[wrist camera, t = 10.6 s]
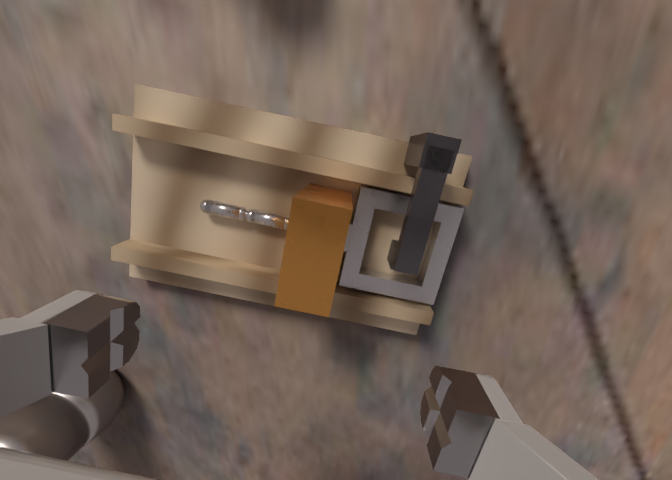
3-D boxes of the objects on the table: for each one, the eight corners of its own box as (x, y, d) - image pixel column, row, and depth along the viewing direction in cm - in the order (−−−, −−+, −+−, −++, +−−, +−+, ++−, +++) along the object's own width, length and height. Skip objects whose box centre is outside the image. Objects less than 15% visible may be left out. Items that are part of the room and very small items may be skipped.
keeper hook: (436, 142, 21) (461, 139, 17) (404, 254, 23) (419, 280, 19) (410, 136, 21) (427, 132, 16) (381, 249, 23) (389, 274, 19)
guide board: (464, 156, 23) (484, 156, 19) (412, 325, 27) (421, 350, 23) (148, 88, 22) (113, 76, 19) (141, 269, 26) (110, 286, 23)
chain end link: (458, 205, 22) (505, 229, 15) (429, 297, 24) (460, 354, 17) (209, 152, 22) (146, 153, 15) (200, 250, 24) (141, 289, 17)
